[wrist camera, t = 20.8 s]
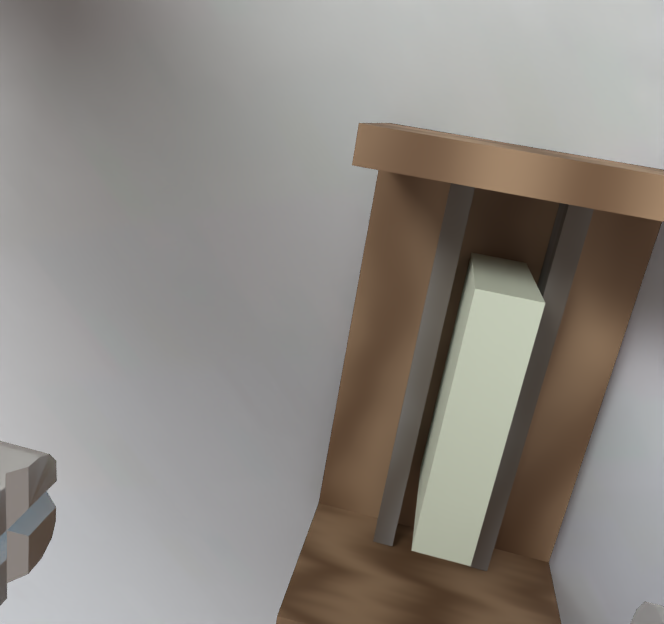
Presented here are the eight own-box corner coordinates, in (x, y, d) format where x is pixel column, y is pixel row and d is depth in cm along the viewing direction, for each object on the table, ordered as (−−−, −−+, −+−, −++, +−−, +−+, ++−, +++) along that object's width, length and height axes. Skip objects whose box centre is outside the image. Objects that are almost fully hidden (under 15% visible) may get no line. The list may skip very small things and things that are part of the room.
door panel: (420, 467, 39) (411, 550, 31) (471, 252, 34) (475, 288, 27) (468, 479, 38) (470, 566, 31) (526, 263, 34) (545, 302, 26)
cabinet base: (319, 509, 43) (273, 640, 32) (389, 123, 35) (358, 123, 24) (538, 566, 41) (567, 725, 30) (668, 170, 33) (772, 194, 22)
